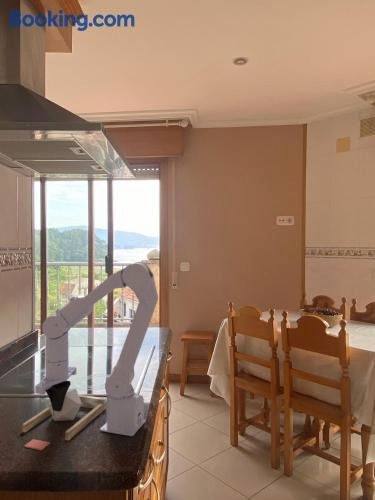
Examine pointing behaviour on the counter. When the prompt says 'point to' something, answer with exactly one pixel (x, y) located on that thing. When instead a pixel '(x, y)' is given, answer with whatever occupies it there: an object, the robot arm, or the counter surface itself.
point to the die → (67, 406)
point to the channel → (88, 402)
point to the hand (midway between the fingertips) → (57, 410)
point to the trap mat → (37, 444)
